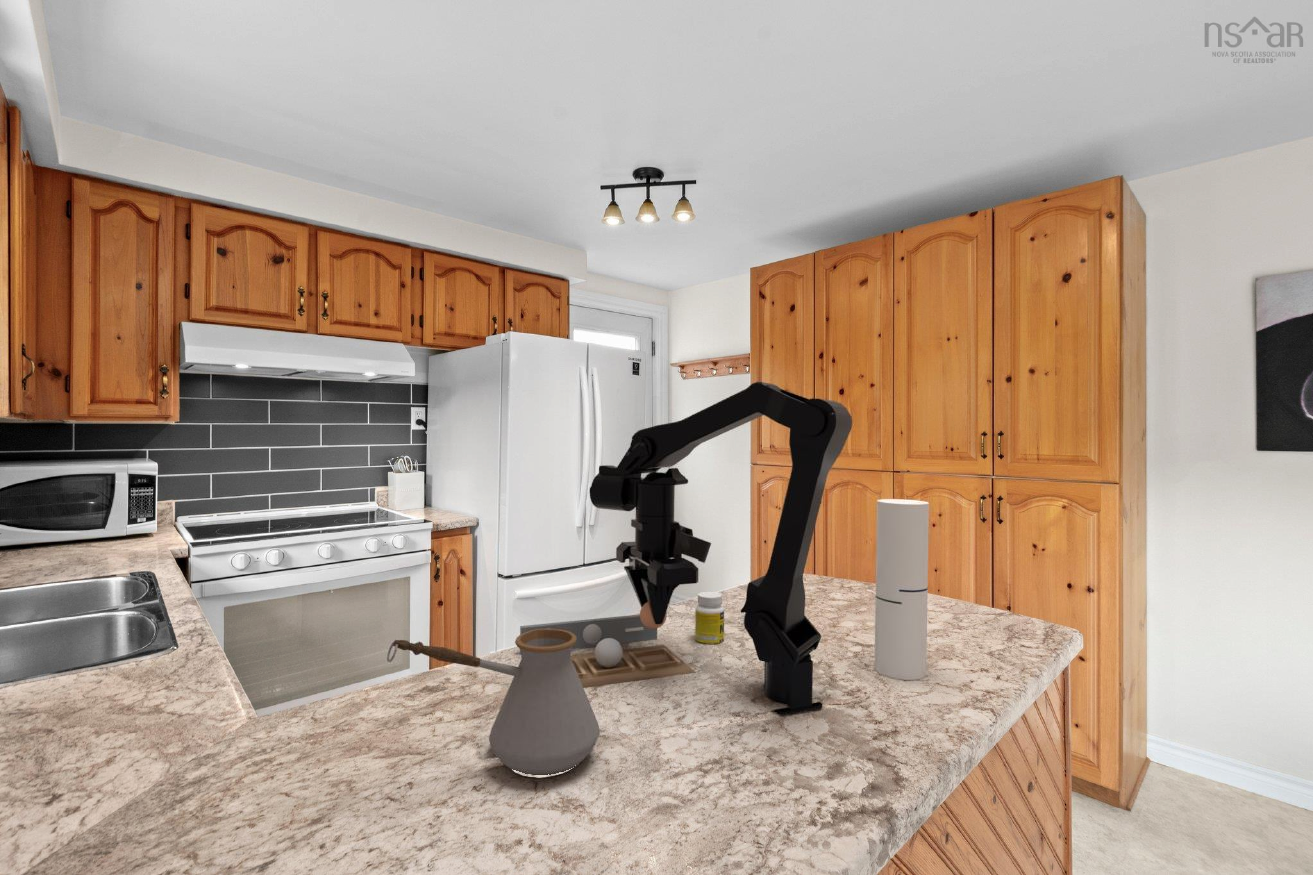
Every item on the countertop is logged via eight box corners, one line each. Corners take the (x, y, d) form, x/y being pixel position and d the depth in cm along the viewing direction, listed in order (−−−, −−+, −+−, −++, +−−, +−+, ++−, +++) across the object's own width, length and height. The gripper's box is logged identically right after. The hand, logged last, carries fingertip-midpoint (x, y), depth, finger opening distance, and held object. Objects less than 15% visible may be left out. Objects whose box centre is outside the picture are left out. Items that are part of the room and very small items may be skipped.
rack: (695, 679, 88) (695, 667, 88) (539, 701, 80) (539, 688, 80) (663, 651, 100) (664, 641, 100) (524, 668, 92) (524, 657, 92)
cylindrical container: (931, 682, 89) (934, 505, 88) (878, 677, 90) (880, 503, 90) (920, 663, 96) (923, 500, 95) (871, 659, 97) (873, 498, 97)
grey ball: (626, 669, 89) (626, 641, 89) (598, 673, 87) (599, 644, 87) (617, 660, 93) (617, 633, 93) (591, 663, 91) (591, 636, 91)
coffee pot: (573, 724, 74) (575, 598, 74) (617, 770, 64) (619, 624, 64) (378, 771, 63) (379, 624, 63) (394, 835, 54) (396, 660, 53)
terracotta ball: (670, 630, 91) (671, 603, 91) (645, 633, 90) (645, 605, 90) (660, 622, 95) (661, 596, 95) (635, 625, 94) (636, 598, 94)
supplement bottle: (725, 651, 100) (725, 598, 100) (695, 650, 100) (696, 598, 100) (722, 641, 105) (723, 590, 105) (694, 640, 105) (694, 590, 105)
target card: (657, 645, 102) (658, 614, 102) (521, 661, 94) (521, 628, 94) (654, 643, 103) (655, 612, 103) (519, 658, 95) (520, 626, 95)
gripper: (733, 520, 87) (731, 633, 87) (679, 505, 104) (678, 599, 104) (658, 523, 83) (656, 641, 83) (615, 507, 100) (614, 604, 100)
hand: (653, 619), depth 93 cm, fingers closed on terracotta ball, 4 cm apart
